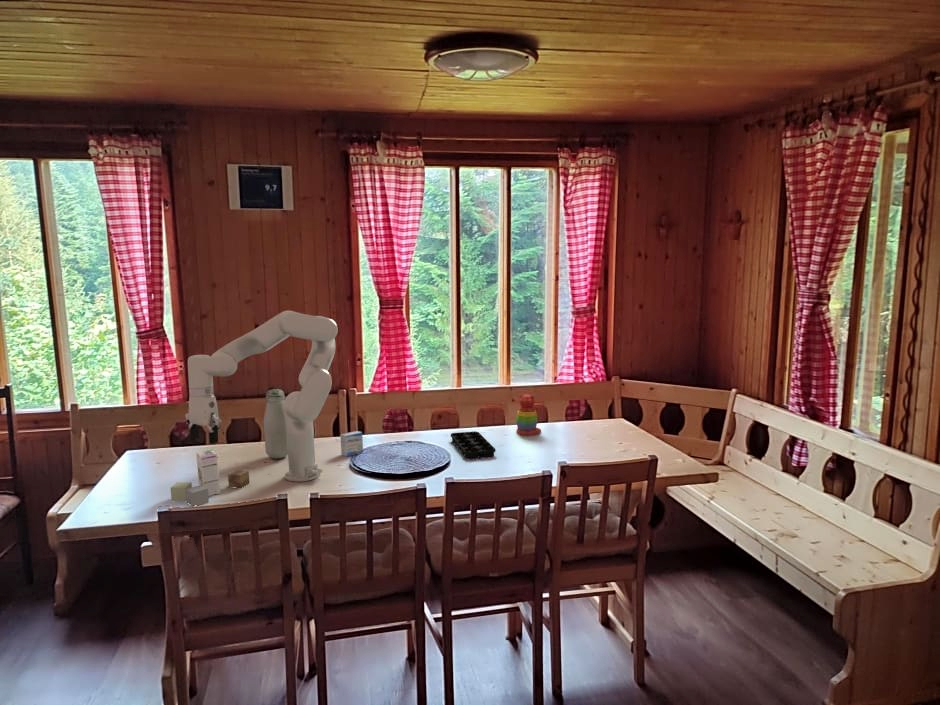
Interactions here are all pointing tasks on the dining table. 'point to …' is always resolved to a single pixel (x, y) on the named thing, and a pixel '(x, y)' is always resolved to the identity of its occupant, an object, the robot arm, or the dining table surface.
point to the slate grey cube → (197, 495)
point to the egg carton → (473, 445)
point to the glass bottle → (275, 425)
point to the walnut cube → (238, 478)
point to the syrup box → (208, 471)
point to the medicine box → (351, 443)
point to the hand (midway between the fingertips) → (204, 441)
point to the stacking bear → (527, 417)
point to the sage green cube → (180, 491)
